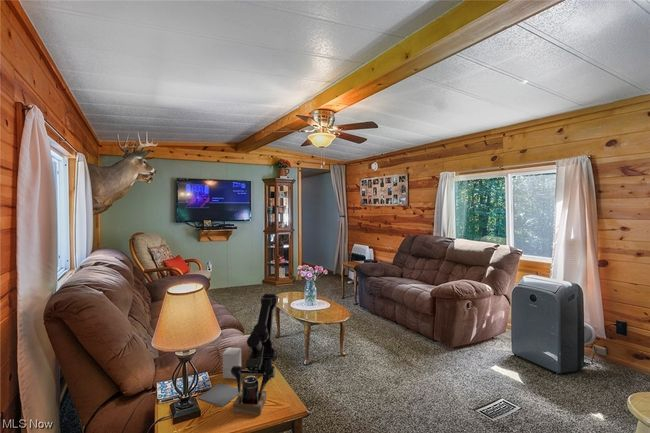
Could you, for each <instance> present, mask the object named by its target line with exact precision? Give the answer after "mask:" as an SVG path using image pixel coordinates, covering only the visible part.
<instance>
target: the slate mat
mask: <svg viewBox="0 0 650 433" xmlns="http://www.w3.org/2000/svg"><path fill="white" fill-rule="evenodd" d="M241 390H242V388H241ZM241 390H240V391H241ZM238 395H239V392H238V387H236V386H235V387H234V386H232V385H229V384H225V383H222V382H220V383H219V382H218V383H217V384H216V385H214V386H213V387H212V388H210V389H208V390H207V391H205V393H203V394H202V395H200V396H199V397H197V399H198V400H201V401H203V402H206V403H209V404H212V405H216V406H218V407H220V408H224V407H225V406H226V405H227V404H229V403H230V402H231V401H232V400H233V399H235V398H237V397H238Z"/></svg>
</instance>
